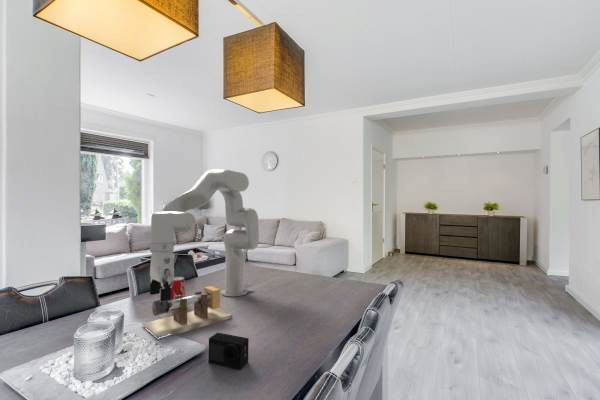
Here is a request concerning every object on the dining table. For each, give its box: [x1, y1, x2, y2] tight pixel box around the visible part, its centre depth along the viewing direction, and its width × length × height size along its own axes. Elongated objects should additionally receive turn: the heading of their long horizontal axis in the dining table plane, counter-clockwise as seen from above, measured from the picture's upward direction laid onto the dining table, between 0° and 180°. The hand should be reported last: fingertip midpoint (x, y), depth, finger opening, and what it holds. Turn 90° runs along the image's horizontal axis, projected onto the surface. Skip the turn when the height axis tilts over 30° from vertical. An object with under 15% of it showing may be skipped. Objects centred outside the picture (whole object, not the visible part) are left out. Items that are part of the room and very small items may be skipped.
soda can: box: [168, 276, 186, 301], centre depth 128 cm, size 7×7×12 cm
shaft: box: [151, 292, 211, 317], centre depth 111 cm, size 24×5×5 cm, turn 135°
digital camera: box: [208, 332, 250, 371], centre depth 83 cm, size 10×5×7 cm, turn 70°
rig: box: [142, 290, 233, 338], centre depth 112 cm, size 28×14×10 cm, turn 135°
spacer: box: [203, 285, 221, 309], centre depth 118 cm, size 3×7×7 cm, turn 45°
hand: (159, 296), depth 104 cm, fingers open, 9 cm apart
